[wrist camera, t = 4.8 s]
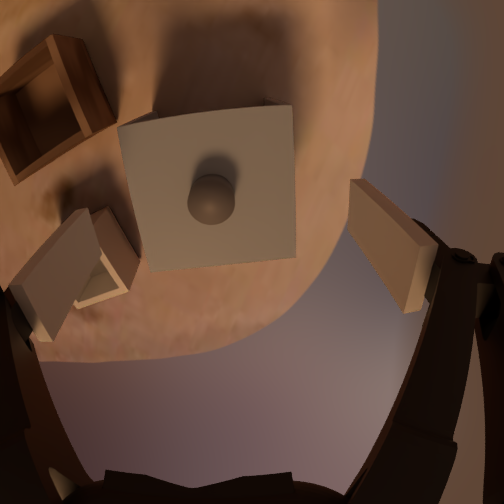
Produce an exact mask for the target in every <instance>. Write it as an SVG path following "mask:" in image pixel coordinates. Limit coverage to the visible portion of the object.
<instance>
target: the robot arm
mask: <svg viewBox="0 0 504 504" xmlns="http://www.w3.org/2000/svg"><path fill="white" fill-rule="evenodd" d="M347 229H348V231H349V233H350V234H351V235H352V237H353V238H354V239H355V241H356V242H357V244H358V245H359V247H360V248H361V250H362V251H363V253H364V254H365V256H366V257H367V258H368V260H369V261H370V263H371V264H372V266H373V267H374V269H375V270H376V272H377V273H378V275H379V276H380V278H381V279H382V281H383V282H384V284H385V285H386V287H387V289H388V290H389V291H390V293H391V295H392V296H393V298H394V300H395V301H396V303H397V304H398V306H399V308H400V309H401V311H402V312H403V314H404V313H409V312H414V311H418V310H421V307H422V304H423V301H424V297H425V298H426V299H427V300H428V302H429V303H430V305H429V308H428V311H427V313H426V317H425V319H424V322H423V325H422V330H421V333H420V337H419V339H418V343H417V345H416V348H415V352H414V354H413V357H412V360H411V362H410V365H409V368H408V371H407V373H406V376H405V378H404V381H403V383H402V385H401V388H400V390H399V393H398V395H397V398H396V400H395V402H394V404H393V407H392V409H391V411H390V413H389V416H388V418H387V420H386V422H385V424H384V426H383V428H382V430H381V432H380V434H379V437H378V438H377V440H376V442H375V444H374V446H373V448H372V450H371V452H370V454H369V455H368V457H367V459H366V461H365V463H364V464H363V466H362V468H361V469H360V471H359V473H358V474H357V476H356V477H355V479H354V481H353V482H352V484H351V485H350V487H349V488H348V490H347V492H346V493H345V495H342V494H340V493H338V492H336V491H334V490H331V489H329V488H327V487H324V486H320V485H317V484H313V483H307V482H300V481H293V479H292V473H291V472H285V473H277V474H269V475H268V474H267V475H256V476H242V477H239V478H235V479H232V480H228V481H224V482H220V483H216V484H212V485H207V486H203V487H199V488H187V487H184V486H180V485H176V484H173V483H169V482H166V481H163V480H160V479H156V478H153V477H150V476H148V475H143V474H132V473H125V472H118V471H111V470H106V471H105V476H104V480H100V481H95V482H94V481H93V480H92V479H91V478H90V477H89V476H88V474H87V473H86V472H85V470H84V468H83V466H82V464H81V463H80V461H79V459H78V457H77V455H76V453H75V451H74V449H73V447H72V445H71V443H70V441H69V438H68V436H67V434H66V432H65V430H64V428H63V425H62V423H61V421H60V418H59V416H58V414H57V411H56V409H55V407H54V404H53V401H52V399H51V396H50V393H49V391H48V388H47V385H46V382H45V380H44V377H43V374H42V371H41V368H40V365H39V361H38V358H37V355H36V351H35V348H34V344H33V343H32V341H31V339H30V338H29V336H30V334H31V332H32V331H33V332H34V334H35V335H36V337H37V338H38V340H39V342H53V341H54V339H55V337H56V335H57V333H58V331H59V329H60V328H61V326H62V324H63V322H64V320H65V318H66V316H67V314H68V312H69V310H70V309H71V307H72V305H73V303H74V301H75V299H76V298H77V296H78V294H79V292H80V291H81V289H82V287H83V285H84V284H85V282H86V280H87V278H88V277H89V275H90V273H91V272H92V270H93V268H94V267H95V265H96V263H97V262H98V260H99V259H100V257H101V255H102V252H101V249H100V246H99V243H98V240H97V236H96V233H95V230H94V227H93V223H92V220H91V217H90V213H89V210H88V208H83V209H78V210H75V211H74V212H73V213H72V214H71V215H70V216H69V217H68V218H67V219H66V220H65V221H64V222H63V223H62V224H61V225H60V226H59V228H58V229H57V230H56V231H55V232H54V233H53V234H52V235H51V236H50V237H49V238H48V239H47V240H46V241H45V243H44V244H43V245H42V246H41V247H40V248H39V249H38V250H37V251H36V253H35V254H34V255H33V256H32V257H31V258H30V260H29V261H28V262H27V263H26V264H25V265H24V267H23V268H22V269H21V270H20V271H19V273H18V274H17V275H16V276H15V278H14V279H13V280H12V281H11V283H10V284H9V285H8V288H7V289H6V290H5V292H3V290H2V288H1V286H0V504H438V503H439V501H440V499H441V496H442V494H443V491H444V489H445V486H446V483H447V481H448V478H449V475H450V472H451V470H452V467H453V464H454V461H455V457H456V453H457V443H456V442H454V441H453V434H454V431H455V427H456V423H457V420H458V416H459V412H460V408H461V404H462V399H463V395H464V391H465V386H466V381H467V375H468V370H469V364H470V358H471V351H472V344H473V335H474V329H475V334H476V339H477V346H478V351H479V359H480V366H481V375H482V384H483V396H484V411H485V470H484V471H485V472H484V486H483V487H484V488H483V504H504V253H499V252H498V253H495V254H494V255H493V257H492V260H491V263H490V264H482V263H478V262H477V259H476V258H475V256H474V255H472V254H471V253H469V252H468V251H465V250H463V249H458V248H449V247H448V246H447V245H446V244H445V243H444V242H443V241H442V240H441V239H440V238H439V237H438V236H436V235H435V234H434V233H433V232H432V231H430V229H429V228H428V227H427V226H425V225H424V224H423V223H421V222H419V221H417V220H416V219H411V218H410V217H409V216H408V215H406V214H405V213H404V212H403V211H402V210H401V209H400V208H398V207H397V206H396V205H395V204H394V203H393V202H392V201H391V200H389V199H388V198H387V197H386V196H385V195H384V194H382V193H381V192H380V191H379V190H378V189H376V188H375V187H374V186H373V185H371V184H370V183H369V182H368V181H367V180H365V179H350V196H349V214H348V228H347Z"/></svg>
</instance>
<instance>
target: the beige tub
mask: <svg viewBox="0 0 504 504" xmlns="http://www.w3.org/2000/svg"><path fill="white" fill-rule="evenodd" d="M90 217H91V220H92V223H93V227H94V230H95V233H96V236H97V240H98V243H99V246H100V249H101V252H102V255H101V257H100V259H99V260H98V262H97V263H96V265H95V267H94V268H93V270H92V272H91V273H90V275H89V277H88V278H87V280H86V282H85V284H84V285H83V287H82V289H81V291H80V292H79V294H78V296H77V298H76V299H75V301H74V303H73V304H74V305H75V307H76V308H77V309H80V308H82V307H85V306H88V305H91V304H94V303H97V302H100V301H103V300H106V299H108V298H111V297H114V296H117V295H120V294H123V293H126V292H129V290H130V287H131V285H132V282H133V279H134V277H135V274H136V272H137V269H138V266H139V264H140V260H139V258H138V256H137V255H136V253H135V251H134V250H133V248H132V246H131V244H130V243H129V241H128V239H127V238H126V236H125V234H124V232H123V231H122V229H121V227H120V225H119V224H118V222H117V220H116V218H115V216H114V215H113V213H112V211H111V209H110V207H109V206H107V207H105V208H103V209H101V210H99V211H97V212H95V213H93V214H91V215H90Z"/></svg>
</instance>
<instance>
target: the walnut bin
mask: <svg viewBox="0 0 504 504" xmlns="http://www.w3.org/2000/svg"><path fill="white" fill-rule="evenodd" d="M115 123H117V121H116V119H115V116H114V114H113V112H112V110H111V107H110V105H109V103H108V100H107V98H106V96H105V93H104V91H103V89H102V86H101V84H100V81H99V79H98V77H97V74H96V72H95V69H94V67H93V64H92V62H91V59H90V57H89V54H88V52H87V49H86V46H85V44H84V41H83V39H78V38H73V37H67V36H62V35H56V34H51V35H50V36H49V37H47V38H46V39H45V40H43V41H42V42H41V43H39V44H38V45H37V46H36V47H34V48H33V49H32V50H30V51H29V52H28V53H27V54H26V55H24V56H23V57H22V58H21V59H20V60H18V61H17V62H16V63H15V64H14V65H13V66H12V67H11V68H9V69H8V70H7V71H6V72H5V73H4V74H3V75H2V76H1V77H0V157H1V159H2V162H3V164H4V166H5V168H6V170H7V172H8V174H9V176H10V178H11V180H12V182H13V184H14V186H16V185H17V184H19V183H20V182H21V181H23V180H24V179H26V178H27V177H29V176H31V175H32V174H34V173H35V172H37V171H38V170H40V169H42V168H43V167H45V166H46V165H48V164H49V163H51V162H52V161H54V160H55V159H57V158H58V157H60V156H61V155H63V154H64V153H66V152H67V151H69V150H71V149H72V148H74V147H75V146H77V145H79V144H80V143H82V142H84V141H85V140H87V139H89V138H90V137H92V136H94V135H95V134H97V133H99V132H101V131H102V130H104V129H106V128H108V127H110V126H112V125H113V124H115Z"/></svg>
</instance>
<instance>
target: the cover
mask: <svg viewBox="0 0 504 504" xmlns="http://www.w3.org/2000/svg"><path fill="white" fill-rule="evenodd" d="M117 131H118V137H119V142H120V148H121V153H122V158H123V163H124V168H125V173H126V178H127V182H128V187H129V191H130V196H131V200H132V204H133V209H134V213H135V217H136V221H137V225H138V229H139V232H140V236H141V240H142V244H143V247H144V251H145V255H146V258H147V262H148V265H149V269H150V272H160V271H170V270H180V269H190V268H200V267H210V266H220V265H230V264H239V263H249V262H258V261H268V260H277V259H286V258H295V257H296V203H295V161H294V134H293V112H292V105H291V104H288V103H285V102H282V101H279V100H276V99H273V98H264V106H251V107H239V108H229V109H219V110H211V111H203V112H195V113H188V114H181V115H175V116H169V117H163V118H158V112H157V111H154V112H150V113H148V114H145V115H143V116H141V117H138V118H136V119H134V120H132V121H130V122H127V123H125V124H123V125H121V126H119V127H117Z"/></svg>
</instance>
